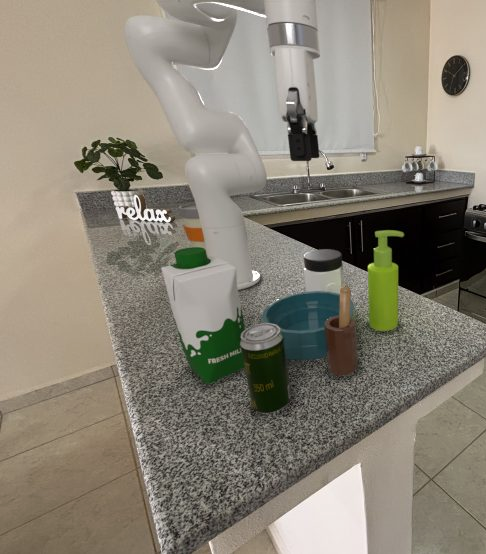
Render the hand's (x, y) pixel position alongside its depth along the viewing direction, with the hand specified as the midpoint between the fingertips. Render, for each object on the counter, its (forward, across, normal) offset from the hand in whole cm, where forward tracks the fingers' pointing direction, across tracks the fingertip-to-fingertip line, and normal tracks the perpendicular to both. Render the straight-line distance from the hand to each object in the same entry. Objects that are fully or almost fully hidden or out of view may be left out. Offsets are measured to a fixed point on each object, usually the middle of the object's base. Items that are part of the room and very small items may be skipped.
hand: (306, 159), depth 61 cm
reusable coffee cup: (+31, -50, -42) cm, 72 cm away
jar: (+32, -9, 0) cm, 34 cm away
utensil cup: (+33, +16, +5) cm, 37 cm away
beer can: (+33, +23, -4) cm, 41 cm away
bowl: (+32, +6, -1) cm, 33 cm away
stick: (+32, +16, +5) cm, 36 cm away
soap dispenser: (+33, +2, +13) cm, 35 cm away
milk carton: (+32, +14, -15) cm, 38 cm away
